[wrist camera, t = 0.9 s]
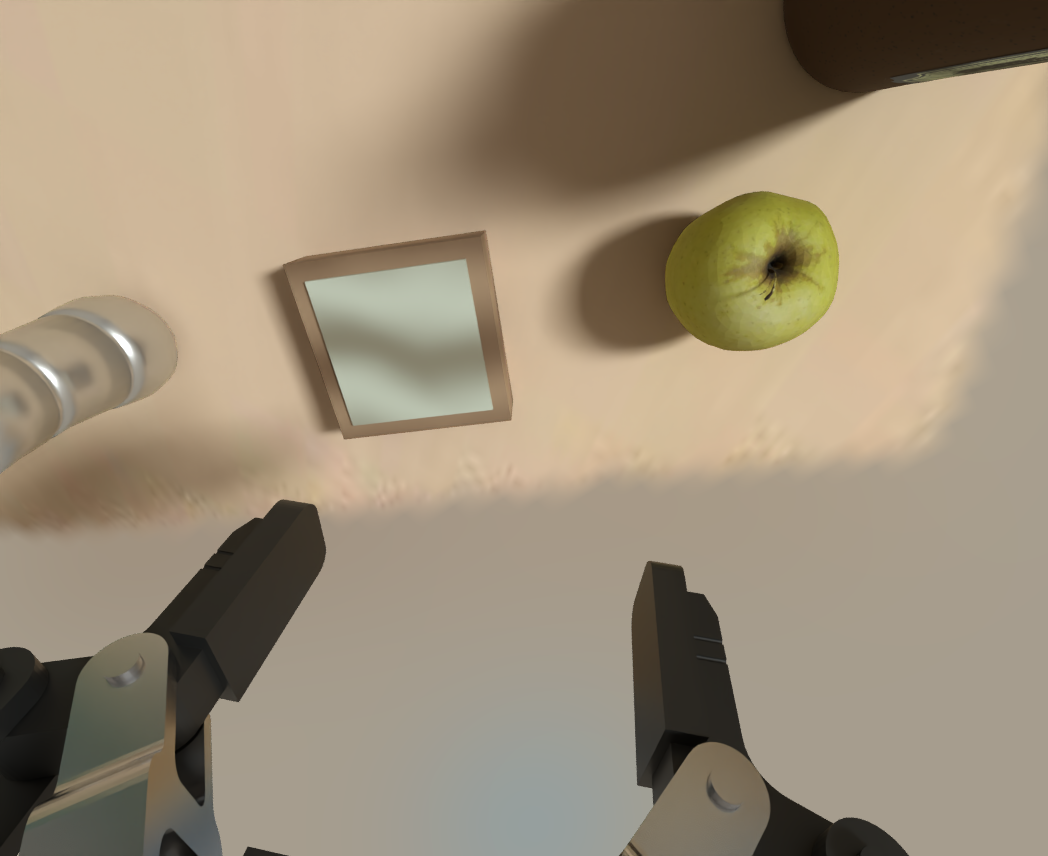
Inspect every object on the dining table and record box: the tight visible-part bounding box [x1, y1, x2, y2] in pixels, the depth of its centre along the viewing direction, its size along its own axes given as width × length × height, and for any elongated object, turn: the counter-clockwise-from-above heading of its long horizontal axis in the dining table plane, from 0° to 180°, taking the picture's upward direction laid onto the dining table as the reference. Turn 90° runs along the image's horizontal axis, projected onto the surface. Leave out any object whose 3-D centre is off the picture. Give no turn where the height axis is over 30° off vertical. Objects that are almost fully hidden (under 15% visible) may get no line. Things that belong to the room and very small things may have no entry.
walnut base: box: [283, 230, 513, 439], centre depth 30 cm, size 11×11×3 cm
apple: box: [665, 191, 839, 351], centre depth 25 cm, size 8×8×10 cm
